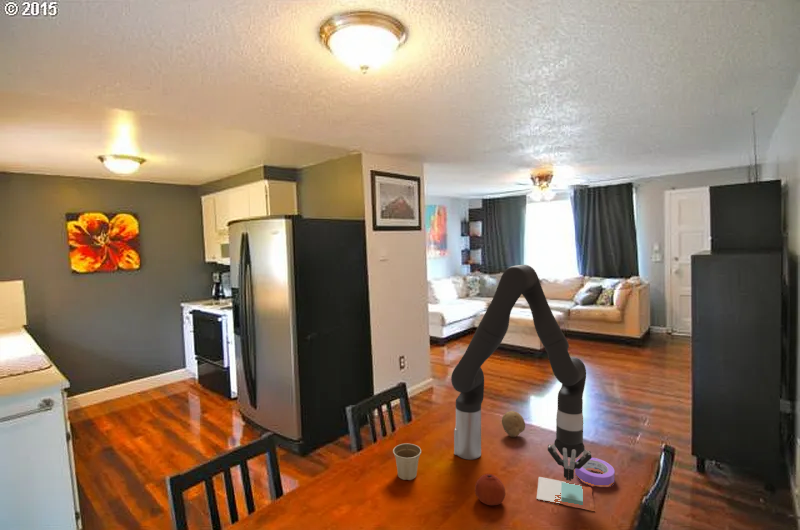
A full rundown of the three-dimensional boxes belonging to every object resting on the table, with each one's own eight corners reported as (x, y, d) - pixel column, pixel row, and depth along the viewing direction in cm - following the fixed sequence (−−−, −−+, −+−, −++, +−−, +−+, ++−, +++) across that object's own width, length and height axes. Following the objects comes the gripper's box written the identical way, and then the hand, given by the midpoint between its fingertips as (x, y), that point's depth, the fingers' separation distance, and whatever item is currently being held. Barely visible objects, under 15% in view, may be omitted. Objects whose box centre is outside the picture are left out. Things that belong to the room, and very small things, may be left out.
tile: (561, 496, 122) (583, 501, 119) (561, 481, 129) (582, 486, 127) (561, 501, 122) (583, 506, 120) (561, 486, 129) (582, 490, 127)
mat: (536, 499, 123) (536, 498, 123) (538, 477, 134) (538, 476, 134) (595, 512, 117) (595, 511, 117) (592, 488, 128) (592, 487, 128)
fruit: (472, 492, 127) (472, 467, 127) (501, 492, 127) (501, 468, 126) (477, 511, 118) (477, 485, 118) (508, 511, 118) (508, 485, 118)
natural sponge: (515, 429, 168) (515, 405, 168) (530, 438, 160) (530, 414, 160) (497, 433, 165) (497, 409, 164) (511, 443, 157) (511, 418, 156)
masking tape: (619, 490, 128) (619, 478, 127) (579, 486, 130) (579, 474, 130) (608, 469, 139) (608, 458, 139) (571, 466, 141) (572, 455, 141)
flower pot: (425, 471, 139) (425, 446, 138) (414, 486, 131) (414, 460, 130) (400, 465, 143) (400, 441, 142) (388, 479, 135) (388, 454, 134)
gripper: (546, 426, 123) (545, 481, 124) (594, 433, 118) (593, 490, 119) (547, 415, 130) (546, 468, 131) (592, 422, 125) (591, 476, 126)
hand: (568, 479), depth 125 cm, fingers closed
